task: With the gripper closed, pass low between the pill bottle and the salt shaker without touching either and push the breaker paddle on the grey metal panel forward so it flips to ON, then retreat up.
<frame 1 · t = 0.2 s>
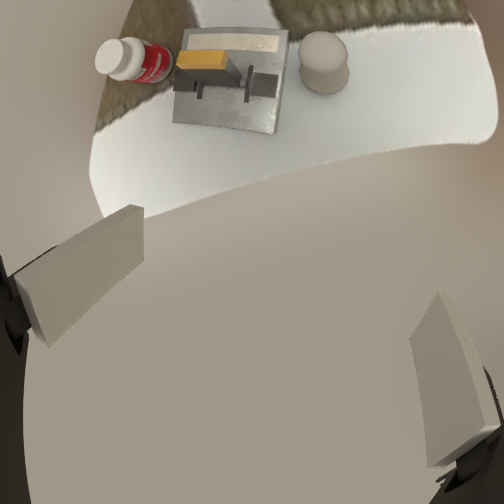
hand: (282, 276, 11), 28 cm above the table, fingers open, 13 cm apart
paddle: (212, 71, 27), point 6 cm above the table, hinge at -15.0°
panel: (231, 77, 33), on the table
salt shaker: (325, 74, 30), on the table
pill bottle: (157, 64, 34), on the table
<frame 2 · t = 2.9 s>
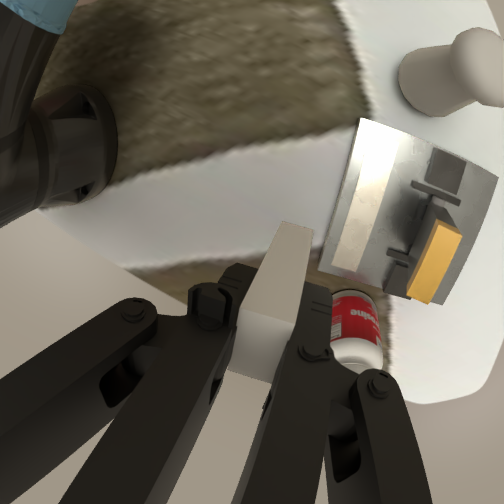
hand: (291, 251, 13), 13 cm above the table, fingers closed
paddle: (430, 244, 18), point 6 cm above the table, hinge at -15.0°
panel: (408, 215, 23), on the table
salt shaker: (422, 85, 18), on the table
pill bottle: (348, 310, 30), on the table
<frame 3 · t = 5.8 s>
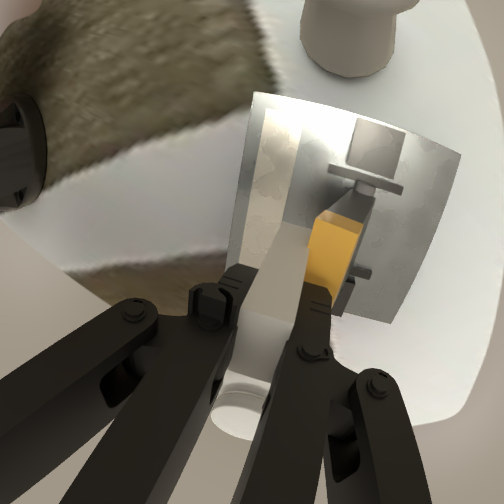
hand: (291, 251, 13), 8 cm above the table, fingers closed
paddle: (341, 248, 15), point 6 cm above the table, hinge at -15.0°, touching gripper
panel: (337, 210, 20), on the table
salt shaker: (345, 44, 15), on the table
pill bottle: (276, 323, 26), on the table
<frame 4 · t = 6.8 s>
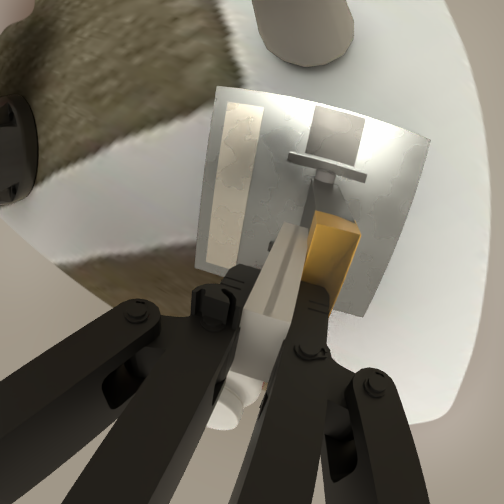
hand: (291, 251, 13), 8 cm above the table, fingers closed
paddle: (316, 241, 15), point 6 cm above the table, hinge at 6.3°, touching gripper
panel: (303, 200, 20), on the table
salt shaker: (309, 36, 15), on the table
pill bottle: (250, 315, 27), on the table
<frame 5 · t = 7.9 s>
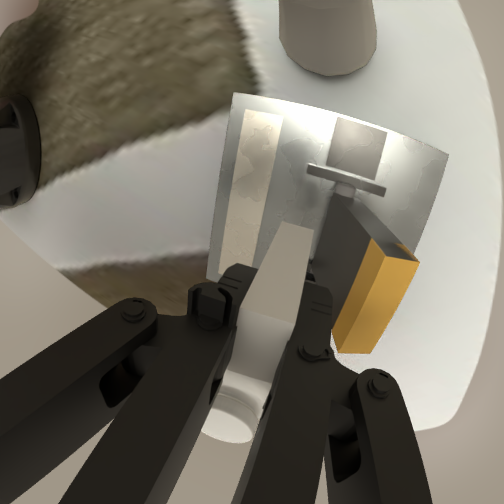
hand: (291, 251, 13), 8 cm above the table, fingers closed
paddle: (349, 260, 14), point 6 cm above the table, hinge at 16.8°
panel: (319, 212, 20), on the table
salt shaker: (328, 43, 15), on the table
pill bottle: (260, 326, 26), on the table
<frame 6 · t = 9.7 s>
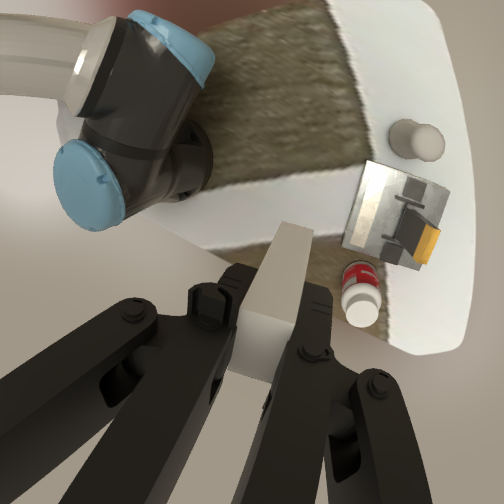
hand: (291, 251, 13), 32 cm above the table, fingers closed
paddle: (415, 233, 35), point 6 cm above the table, hinge at 17.0°
panel: (394, 215, 41), on the table
salt shaker: (404, 138, 36), on the table
pill bottle: (359, 275, 47), on the table
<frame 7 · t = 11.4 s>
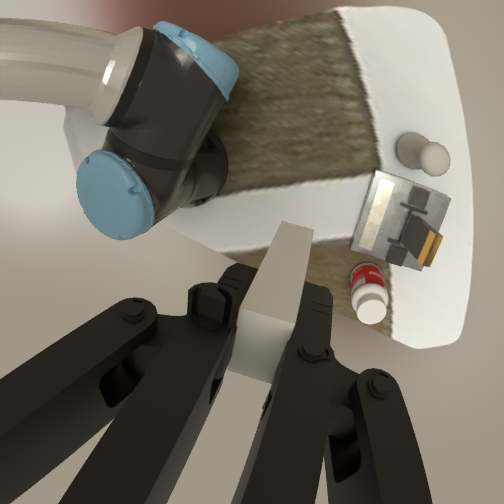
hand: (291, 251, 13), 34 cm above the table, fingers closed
paddle: (419, 238, 38), point 6 cm above the table, hinge at 17.0°
panel: (399, 220, 44), on the table
salt shaker: (409, 149, 38), on the table
pill bottle: (366, 275, 50), on the table
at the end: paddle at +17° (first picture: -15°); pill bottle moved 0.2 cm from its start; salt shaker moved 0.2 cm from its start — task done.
